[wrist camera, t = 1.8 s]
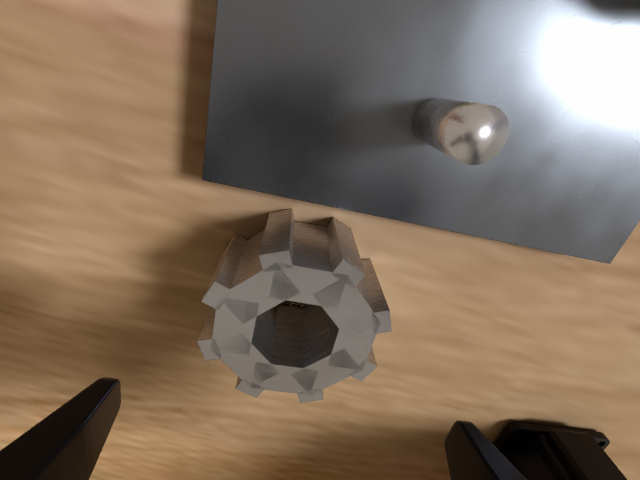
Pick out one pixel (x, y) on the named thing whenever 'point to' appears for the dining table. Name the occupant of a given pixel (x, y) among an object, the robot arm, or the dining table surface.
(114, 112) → the dining table surface
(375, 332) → the planet gear
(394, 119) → the plate
